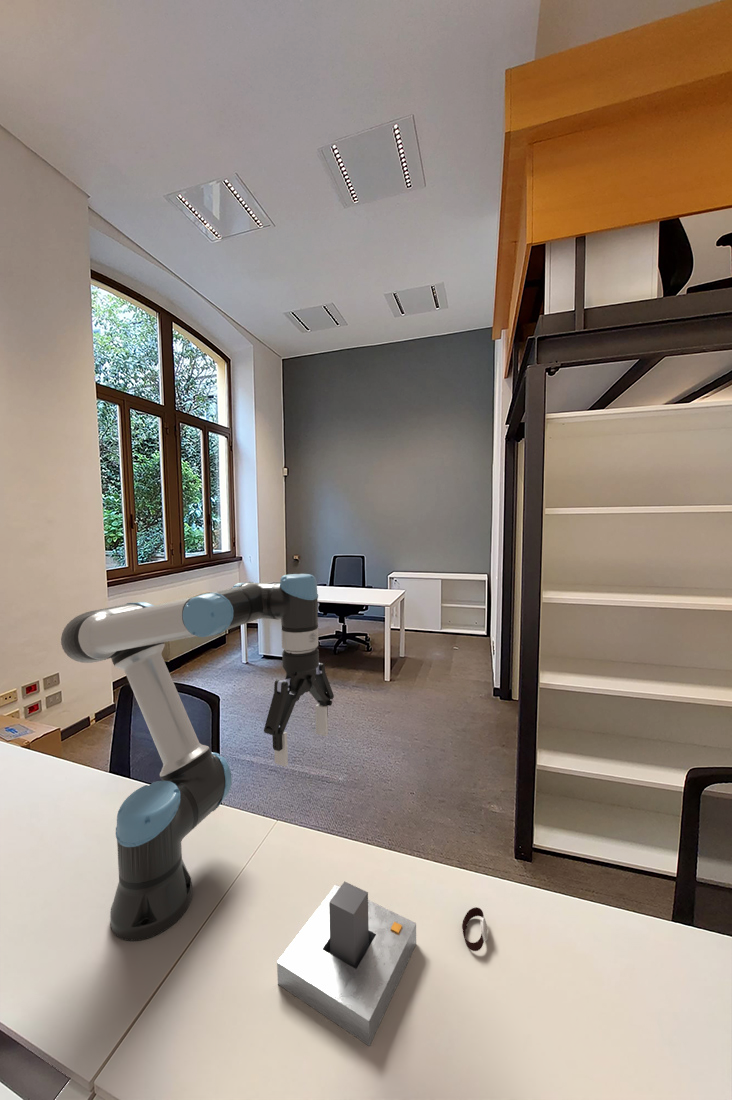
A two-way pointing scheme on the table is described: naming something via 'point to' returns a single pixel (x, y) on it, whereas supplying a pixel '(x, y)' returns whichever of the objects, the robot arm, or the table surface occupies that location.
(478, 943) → the watch
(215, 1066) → the table surface
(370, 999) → the socket
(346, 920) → the plug
